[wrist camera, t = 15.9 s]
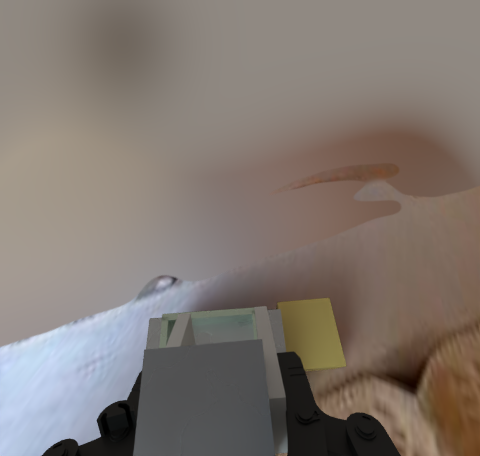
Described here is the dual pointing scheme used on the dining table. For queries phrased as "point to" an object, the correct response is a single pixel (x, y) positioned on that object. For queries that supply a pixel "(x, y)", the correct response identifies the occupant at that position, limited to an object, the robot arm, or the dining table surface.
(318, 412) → the robot arm
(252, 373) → the pin
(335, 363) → the block
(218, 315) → the box
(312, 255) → the dining table surface
